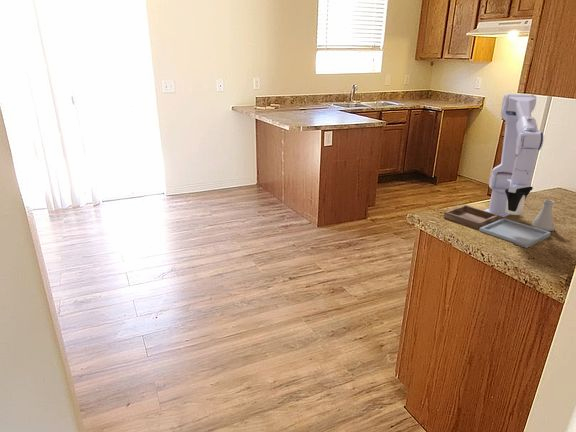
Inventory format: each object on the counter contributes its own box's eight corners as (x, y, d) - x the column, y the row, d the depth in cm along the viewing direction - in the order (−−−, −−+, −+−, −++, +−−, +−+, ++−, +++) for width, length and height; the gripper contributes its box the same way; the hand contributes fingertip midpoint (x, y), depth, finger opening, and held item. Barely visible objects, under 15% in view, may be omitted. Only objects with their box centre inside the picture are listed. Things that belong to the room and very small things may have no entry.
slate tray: (503, 221, 151) (503, 218, 151) (549, 236, 139) (550, 232, 139) (478, 231, 142) (479, 227, 142) (526, 248, 130) (527, 244, 130)
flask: (557, 232, 142) (564, 205, 139) (534, 231, 144) (541, 203, 140) (549, 225, 149) (556, 198, 145) (527, 223, 150) (533, 197, 147)
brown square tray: (464, 211, 161) (465, 204, 161) (498, 221, 151) (499, 215, 150) (443, 218, 154) (444, 212, 153) (477, 230, 144) (478, 223, 143)
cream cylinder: (508, 209, 142) (511, 192, 140) (524, 212, 139) (527, 195, 137) (503, 212, 139) (505, 195, 137) (519, 215, 136) (522, 198, 134)
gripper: (518, 163, 141) (510, 201, 146) (502, 170, 132) (494, 210, 136) (541, 167, 136) (532, 206, 141) (526, 174, 127) (516, 216, 132)
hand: (514, 208), depth 139 cm, fingers closed on cream cylinder, 5 cm apart
